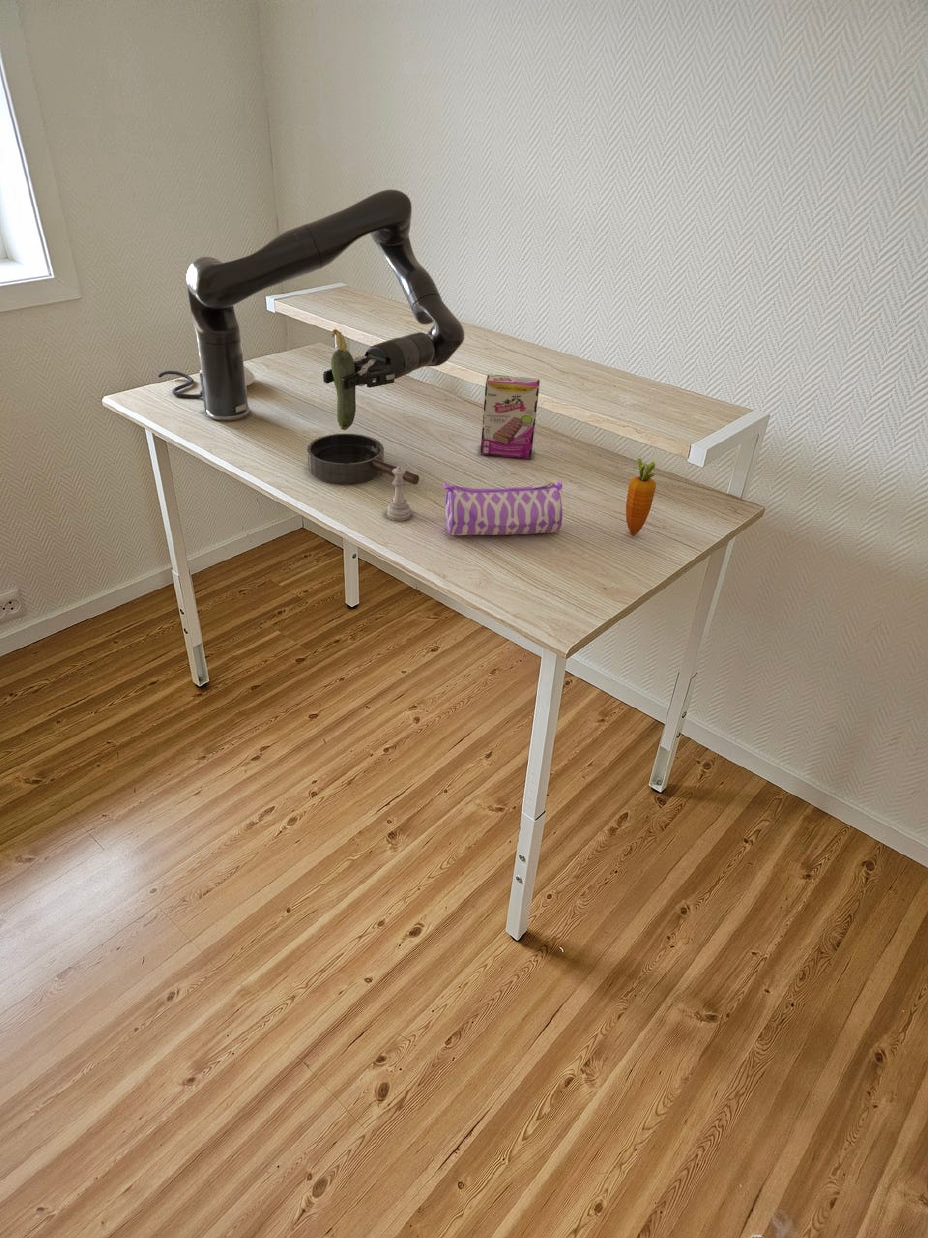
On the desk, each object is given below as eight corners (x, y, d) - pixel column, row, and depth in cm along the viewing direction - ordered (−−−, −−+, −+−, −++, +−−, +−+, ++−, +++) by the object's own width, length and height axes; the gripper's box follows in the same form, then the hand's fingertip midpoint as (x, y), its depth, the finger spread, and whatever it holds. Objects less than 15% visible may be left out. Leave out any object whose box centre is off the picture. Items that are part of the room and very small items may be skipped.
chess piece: (384, 511, 156) (383, 462, 150) (406, 508, 157) (406, 459, 151) (391, 522, 152) (390, 472, 146) (413, 519, 154) (414, 469, 148)
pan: (292, 469, 168) (290, 449, 166) (345, 447, 179) (344, 427, 176) (347, 493, 161) (347, 471, 158) (399, 467, 171) (399, 447, 169)
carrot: (616, 528, 154) (629, 453, 146) (642, 528, 155) (657, 454, 146) (623, 542, 150) (637, 465, 142) (649, 542, 151) (665, 466, 142)
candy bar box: (479, 455, 178) (484, 381, 169) (481, 446, 182) (486, 373, 173) (531, 460, 177) (539, 385, 168) (532, 450, 182) (540, 377, 172)
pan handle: (370, 469, 164) (369, 460, 163) (376, 466, 165) (376, 457, 164) (412, 486, 159) (412, 476, 158) (419, 482, 160) (419, 473, 159)
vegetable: (361, 429, 166) (357, 328, 155) (350, 437, 163) (345, 334, 151) (342, 425, 168) (337, 324, 156) (330, 432, 165) (324, 330, 153)
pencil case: (552, 515, 157) (558, 470, 152) (567, 540, 150) (574, 492, 145) (438, 522, 153) (439, 475, 148) (447, 548, 146) (449, 499, 140)
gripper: (366, 333, 170) (305, 352, 158) (420, 348, 163) (360, 370, 152) (367, 369, 174) (308, 391, 163) (419, 385, 167) (362, 409, 156)
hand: (334, 380), depth 157 cm, fingers closed on vegetable, 4 cm apart
